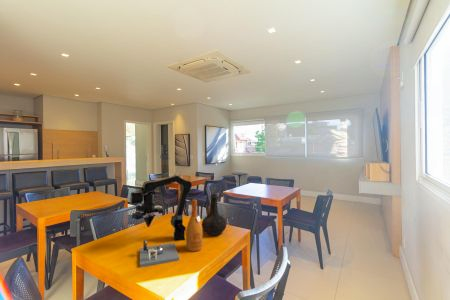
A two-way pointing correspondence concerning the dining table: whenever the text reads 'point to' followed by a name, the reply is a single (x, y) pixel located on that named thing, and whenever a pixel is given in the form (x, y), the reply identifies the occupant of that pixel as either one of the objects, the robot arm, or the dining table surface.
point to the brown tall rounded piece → (194, 230)
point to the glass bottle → (214, 219)
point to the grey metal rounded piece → (158, 248)
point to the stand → (158, 255)
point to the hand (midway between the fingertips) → (148, 226)
